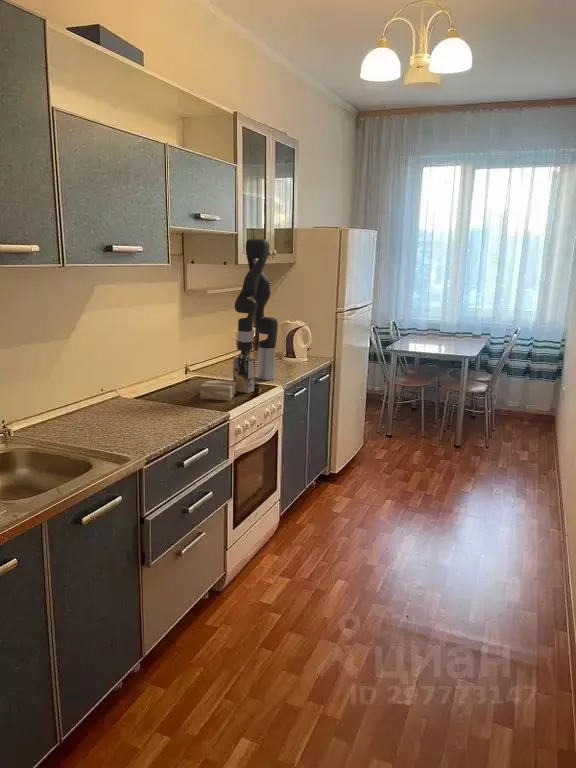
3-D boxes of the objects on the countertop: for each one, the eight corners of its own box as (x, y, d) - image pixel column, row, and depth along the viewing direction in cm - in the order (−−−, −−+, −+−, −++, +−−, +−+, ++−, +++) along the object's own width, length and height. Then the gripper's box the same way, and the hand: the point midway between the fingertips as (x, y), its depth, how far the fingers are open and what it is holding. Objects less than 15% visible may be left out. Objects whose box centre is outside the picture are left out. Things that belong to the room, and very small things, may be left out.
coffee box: (254, 390, 280) (255, 359, 276) (247, 393, 275) (248, 361, 271) (239, 388, 284) (239, 356, 281) (232, 390, 279) (232, 358, 275)
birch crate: (207, 391, 276) (207, 379, 275) (235, 393, 275) (236, 381, 273) (200, 398, 263) (200, 386, 261) (229, 401, 261) (230, 388, 260)
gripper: (240, 337, 281) (239, 369, 285) (234, 341, 267) (233, 375, 271) (255, 338, 280) (254, 370, 284) (249, 342, 266) (248, 376, 270)
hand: (243, 372), depth 277 cm, fingers closed on coffee box, 7 cm apart
